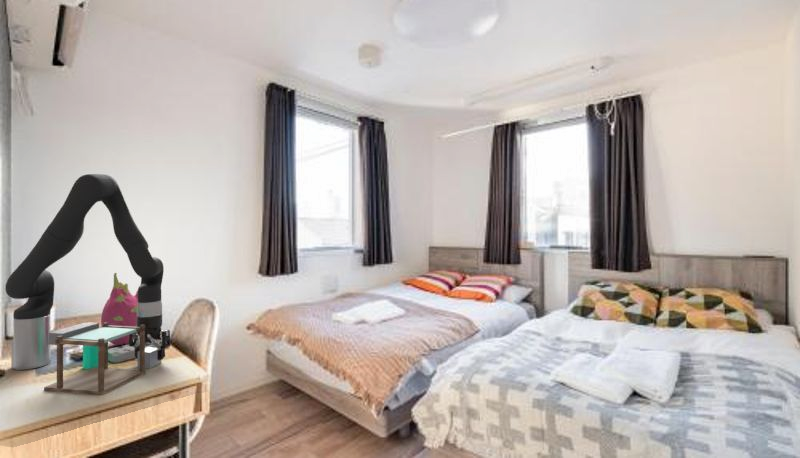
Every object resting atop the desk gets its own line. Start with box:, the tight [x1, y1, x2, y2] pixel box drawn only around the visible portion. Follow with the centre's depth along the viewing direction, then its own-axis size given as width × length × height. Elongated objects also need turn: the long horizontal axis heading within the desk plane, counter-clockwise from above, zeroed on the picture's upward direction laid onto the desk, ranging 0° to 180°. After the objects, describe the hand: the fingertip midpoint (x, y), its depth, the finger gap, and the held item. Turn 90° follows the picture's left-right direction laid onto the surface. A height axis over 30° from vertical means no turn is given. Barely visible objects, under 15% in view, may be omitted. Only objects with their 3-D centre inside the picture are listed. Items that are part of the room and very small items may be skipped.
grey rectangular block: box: [136, 347, 162, 369], centre depth 133 cm, size 5×5×6 cm
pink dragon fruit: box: [100, 272, 139, 346], centre depth 152 cm, size 18×14×30 cm
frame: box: [43, 322, 146, 396], centre depth 118 cm, size 19×16×16 cm
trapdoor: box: [49, 321, 136, 346], centre depth 118 cm, size 19×12×4 cm, turn 83°
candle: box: [82, 345, 98, 370], centre depth 131 cm, size 6×6×12 cm
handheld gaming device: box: [108, 342, 156, 364], centre depth 141 cm, size 9×15×4 cm, turn 147°
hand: (149, 358), depth 132 cm, fingers open, 8 cm apart
